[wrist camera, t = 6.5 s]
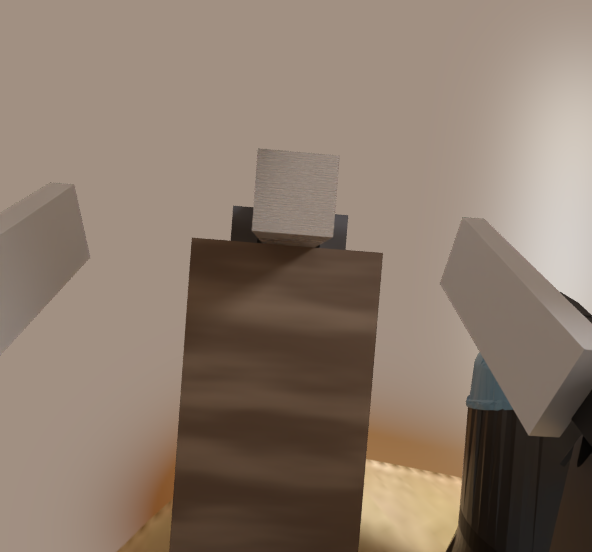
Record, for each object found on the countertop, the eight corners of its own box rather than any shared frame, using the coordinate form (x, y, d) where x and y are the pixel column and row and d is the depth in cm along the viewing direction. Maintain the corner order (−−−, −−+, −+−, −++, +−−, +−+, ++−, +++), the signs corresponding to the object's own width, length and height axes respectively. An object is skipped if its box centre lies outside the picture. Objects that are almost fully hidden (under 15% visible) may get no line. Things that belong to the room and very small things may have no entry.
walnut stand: (344, 721, 23) (385, 218, 22) (157, 715, 23) (194, 202, 22) (318, 535, 39) (342, 238, 38) (208, 529, 39) (230, 229, 38)
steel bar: (333, 237, 14) (339, 155, 14) (251, 230, 14) (257, 148, 14) (302, 253, 34) (305, 220, 34) (268, 251, 34) (271, 217, 34)
